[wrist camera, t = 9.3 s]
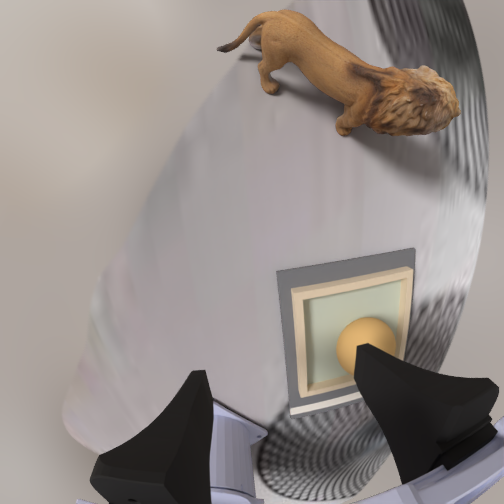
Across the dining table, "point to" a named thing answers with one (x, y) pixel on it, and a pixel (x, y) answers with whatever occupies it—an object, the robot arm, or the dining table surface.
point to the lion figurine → (351, 78)
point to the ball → (363, 340)
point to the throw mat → (338, 322)
